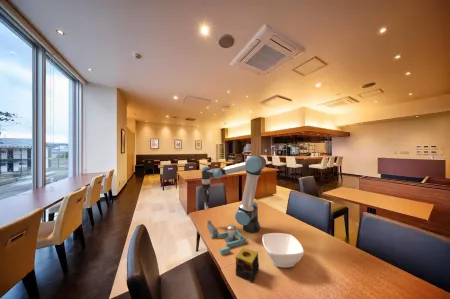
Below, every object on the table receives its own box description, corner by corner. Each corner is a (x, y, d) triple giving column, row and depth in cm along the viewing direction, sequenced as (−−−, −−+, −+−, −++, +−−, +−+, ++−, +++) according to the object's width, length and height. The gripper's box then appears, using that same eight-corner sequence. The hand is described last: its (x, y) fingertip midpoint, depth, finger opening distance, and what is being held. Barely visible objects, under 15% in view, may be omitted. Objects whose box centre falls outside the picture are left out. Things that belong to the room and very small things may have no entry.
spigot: (229, 236, 121) (229, 224, 121) (236, 238, 119) (236, 225, 119) (226, 240, 116) (226, 227, 116) (234, 242, 113) (233, 229, 113)
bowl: (260, 250, 104) (259, 232, 105) (293, 250, 104) (292, 232, 104) (268, 276, 82) (267, 254, 82) (310, 276, 82) (309, 254, 82)
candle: (252, 283, 78) (252, 263, 79) (235, 275, 84) (234, 256, 84) (259, 270, 87) (258, 252, 87) (243, 263, 92) (242, 246, 93)
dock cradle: (235, 231, 129) (234, 228, 129) (249, 246, 109) (249, 242, 109) (210, 237, 121) (210, 233, 121) (221, 255, 100) (221, 250, 100)
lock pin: (210, 227, 137) (210, 219, 137) (216, 236, 122) (216, 228, 122) (207, 228, 136) (206, 220, 136) (213, 237, 121) (212, 229, 121)
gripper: (200, 182, 147) (200, 207, 146) (203, 185, 135) (204, 212, 134) (207, 181, 149) (208, 206, 149) (212, 184, 137) (212, 210, 137)
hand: (206, 209), depth 142 cm, fingers closed
